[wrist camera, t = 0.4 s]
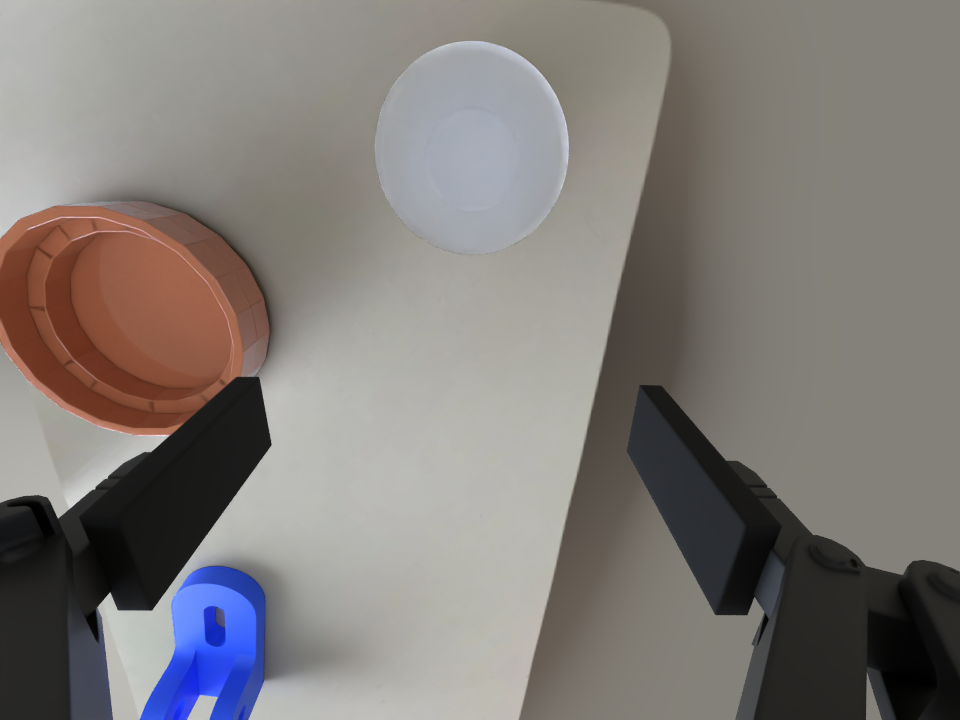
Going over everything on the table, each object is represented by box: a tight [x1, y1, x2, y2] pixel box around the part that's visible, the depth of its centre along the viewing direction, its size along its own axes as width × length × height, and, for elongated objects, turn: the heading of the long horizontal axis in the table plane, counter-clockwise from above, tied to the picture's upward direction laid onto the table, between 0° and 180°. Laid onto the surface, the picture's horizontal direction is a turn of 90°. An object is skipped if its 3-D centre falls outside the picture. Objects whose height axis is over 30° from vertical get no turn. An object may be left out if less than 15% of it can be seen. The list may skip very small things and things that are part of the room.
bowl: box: [0, 201, 270, 436], centre depth 33 cm, size 16×16×5 cm
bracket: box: [140, 566, 265, 720], centre depth 45 cm, size 18×8×9 cm, turn 169°
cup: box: [375, 41, 569, 255], centre depth 25 cm, size 9×9×12 cm
